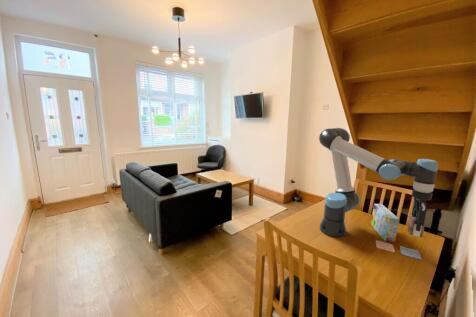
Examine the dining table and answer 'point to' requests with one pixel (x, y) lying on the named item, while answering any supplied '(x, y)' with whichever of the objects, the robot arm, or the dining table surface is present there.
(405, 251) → the slate tile
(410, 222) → the block
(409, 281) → the dining table surface
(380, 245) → the terracotta tile
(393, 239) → the snack box
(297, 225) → the dining table surface
